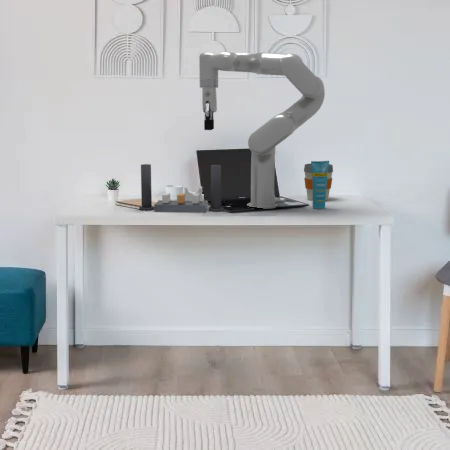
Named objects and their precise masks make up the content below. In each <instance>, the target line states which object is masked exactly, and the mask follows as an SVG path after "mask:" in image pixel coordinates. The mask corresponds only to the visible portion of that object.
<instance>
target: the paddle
mask: <svg viewBox="0 0 450 450" xmlns="http://www.w3.org/2000/svg"><path fill="white" fill-rule="evenodd" d="M199 202H200V194H193V195H192V203H196V204H198V203H199Z"/></svg>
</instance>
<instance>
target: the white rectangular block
mask: <svg viewBox="0 0 450 450" xmlns="http://www.w3.org/2000/svg"><path fill="white" fill-rule="evenodd" d="M161 197H162V199H161V200H162V203H169V202H170V200H171V193H170V192H164V193H163V194H162V195H161Z"/></svg>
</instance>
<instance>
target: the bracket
mask: <svg viewBox="0 0 450 450" xmlns="http://www.w3.org/2000/svg"><path fill="white" fill-rule="evenodd" d="M202 192H203V186H199V187H198V191H195V192H193V191H190V190H189V187H188V186H184V193H185V200H191V201H192V195H193V194H200V201H205V199H204V194H202Z"/></svg>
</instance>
